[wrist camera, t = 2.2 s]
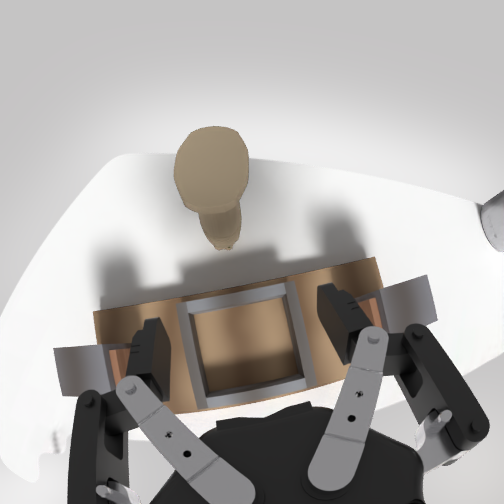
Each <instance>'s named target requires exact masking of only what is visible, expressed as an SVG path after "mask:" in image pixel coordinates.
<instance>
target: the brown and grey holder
mask: <svg viewBox="0 0 504 504" xmlns="http://www.w3.org/2000/svg"><path fill="white" fill-rule="evenodd" d="M331 282H332V283H333V284H334V285H335V287H336V288H337V290H338V291H339V290H345V291H347V292H348V293H350V294H351V295H352V296H353V298H354V299H355V300H356V302H357V303H358V304H359V306H360V308H361V309H362V310H363V311H364V313H365V314H366V316H367V317H368V318H369V320H370V321H371V323H372V324H373V325H374V326H376V327H380V328H382V329H384V330H385V331H386V332H387V333H404V331H405V329H406V327H407V326H408V325H410V324H415V323H418V324H422V325H424V326H426V325H428V324H431V323H433V322H435V321H437V320H438V319H437V314H436V310H435V305H434V301H433V297H432V293H431V289H430V285H429V281H428V277H427V275H424V276H421V277H418V278H414V279H411V280H408V281H405V282H402V283H399V284H395V285H392V286H389V287H385V288H383V284H382V280H381V277H380V273H379V269H378V266H377V262H376V259H375V257H371V258H367V259H363V260H359V261H354V262H350V263H346V264H341V265H337V266H333V267H328V268H324V269H319V270H315V271H310V272H305V273H301V274H296V275H291V276H287V277H282V278H277V279H272V280H268V281H263V282H258V283H253V284H248V285H243V286H238V287H232V288H227V289H222V290H217V291H212V292H206V293H201V294H195V295H190V296H184V297H179V298H173V299H167V300H162V301H156V302H150V303H144V304H138V305H132V306H126V307H119V308H113V309H107V310H100V311H93V316H94V324H95V332H96V339H97V345H88V346H76V347H63V348H53V349H54V355H55V361H56V367H57V372H58V378H59V382H60V387H61V391H62V396H76V397H79V396H80V395H81V394H82V393H83V392H84V391H87V390H96V391H98V392H99V393H100V395H102V394H104V393H107V392H110V391H113V390H115V389H116V386H117V384H118V383H119V381H120V380H122V379H123V378H125V376H126V370H127V364H128V359H129V354H130V348H131V343H132V338H133V336H134V335H135V333H136V332H137V330H143V325H144V320H145V319H149V318H155V317H160V319H161V321H162V323H163V325H164V327H165V330H166V332H167V334H168V336H169V339H170V343H171V369H170V401H167V402H163V405H166V406H167V407H168V408H169V409H170V410H171V412H172V413H173V414H183V413H192V412H201V411H208V410H216V409H222V408H228V407H234V406H240V405H246V404H251V403H256V402H261V401H265V400H270V399H274V398H279V397H283V396H287V395H291V394H295V393H299V392H303V391H306V390H310V389H314V388H317V387H320V386H324V385H327V384H330V383H334V382H337V381H340V380H343V379H345V377H346V374H347V371H348V368H349V366H350V365H351V364H347V365H344V366H343V364H342V362H341V360H340V358H339V356H338V354H337V352H336V350H335V349H334V347H333V345H332V343H331V341H330V339H329V337H328V335H327V333H326V331H325V330H324V328H323V326H322V324H321V322H320V320H319V318H318V314H317V286H318V285H322V284H327V283H331Z"/></svg>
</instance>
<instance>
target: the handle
mask: <svg viewBox="0 0 504 504" xmlns="http://www.w3.org/2000/svg"><path fill="white" fill-rule="evenodd" d="M248 173H249V157H248V150H247V147H246V145H245V143H244V141H243V140H242V138H241V137H240V135H239V134H238V132H237V131H235V130H233V129H230V128H227V127H219V126H213V127H205V128H200V129H198V130H195V131H193V132H191V133H190V134H189V136H188V137H187V139H186V140H185V141H184V142H183V144H182V145H181V146H180V148H179V150H178V152H177V155H176V160H175V166H174V180H175V183H176V186H177V189H178V191H179V193H180V196H181V198H182V200H183V203H184V205H185V206H186V207H187V208H189V209H190V210H192V211H194V212H197V213H199V219H200V223H201V226H202V229H203V231H204V233H205V235H206V237H207V239H208V240H209V241H210V242H211V243H212V244H213V245H214V247H215V249H217V250H221V249H227V250H231V249H232V247H233V244H234V243H235V242H236V241H237V240H238V239H239V234H240V229H241V210H240V204H239V200H240V198H241V196H242V194H243V192H244V190H245V188H246V186H247V184H248Z"/></svg>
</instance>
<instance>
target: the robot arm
mask: <svg viewBox="0 0 504 504" xmlns="http://www.w3.org/2000/svg"><path fill="white" fill-rule="evenodd" d="M481 220H482V225H483V228H484V231H485V234H486V236H487V238H488V240H489V242H490V243H491V245H492V246H493V247H494V248H495V249H496V250H498V251H500V252H504V190H503V191H502V192H500V193H499V194H497V195H496V196H495V197H493V198H492V199H490V200H489V201H488V202H486V203H485V204H484V205H483V206H482V210H481ZM317 314H318V318H319V320H320V322H321V324H322V326H323V328H324V330H325V331H326V333H327V335H328V337H329V339H330V341H331V343H332V345H333V347H334V349H335V350H336V352H337V354H338V356H339V358H340V360H341V362H342V364H343V366H344V365H347V364H351V365H350V366H349V368H348V371H347V374H346V377H345V380H344V383H343V386H342V389H341V392H340V395H339V397H338V400H337V403H336V405H335V408H334V410H333V409H330V408H325V407H312V405H311V403H310V401H308V402H304V403H301V404H297V405H293V406H289V407H286V408H284V409H282V410H280V411H278V412H276V413H274V414H272V415H270V416H267V417H264V418H247V417H238V418H232V419H225V420H219V421H216V426H217V427H216V428H213V429H211V430H209V431H207V432H206V433H204V434H203V435H202V436H201V437H200V438H198V437H197V436H196V435H195V434H193V433H192V432H191V431H190V430H189V429H188V428H187V427H186V426H185V425H184V424H183V423H182V422H181V421H180V420H179V419H178V418H177V417H176V416H175V415H174V414H173V413H172V412H171V410H170V409H169V408H168V407H167V406H166V405H163V402H167V401H170V369H171V343H170V339H169V336H168V334H167V332H166V330H165V327H164V325H163V323H162V321H161V319H160V317H155V318H149V319H145V320H144V325H143V330H137V332H136V333H135V335H134V336H133V338H132V343H131V348H130V354H129V359H128V364H127V370H126V376H125V378H123V379H122V380H120V381H119V383H118V384H117V386H116V389H115V390H113V391H110V392H107V393H104V394H102V395H100V393H99V392H98V391H96V390H87V391H84V392H83V393H82V394H81V395H80V396H79V397H78V400H77V404H76V410H75V416H74V423H73V430H72V438H71V447H70V457H69V471H68V496H67V498H68V500H67V504H141V501H140V498H139V496H138V495H137V493H136V492H134V491H133V490H131V489H129V468H128V431H129V430H132V429H135V428H138V427H140V429H141V430H142V431H143V433H144V434H145V435H146V436H147V438H148V439H149V440H150V441H151V442H152V444H153V445H154V446H155V447H156V448H157V449H158V451H159V452H160V453H161V454H162V455H163V456H164V457H165V458H166V460H167V461H168V462H169V463H170V464H171V465H172V466H173V467H174V468H175V469H176V470H175V471H174V473H173V474H172V475H171V476H170V478H169V479H168V480H167V482H166V483H165V484H164V486H163V487H162V488H161V490H160V491H159V492H158V494H157V495H156V496H155V497H154V499H153V500H152V501H151V502H150V504H426V503H425V501H424V497H423V476H424V475H425V474H426V473H428V472H430V471H432V470H434V469H436V468H437V467H439V466H441V465H443V466H448V465H451V464H452V463H454V462H455V461H457V460H458V459H459V458H461V457H462V456H463V455H464V454H466V453H467V452H468V451H469V450H471V449H472V448H473V447H475V446H476V445H477V444H478V443H479V442H481V441H482V440H483V439H484V438H485V437H486V436H487V434H488V432H489V428H490V424H489V420H488V418H487V417H486V414H485V413H484V411H483V409H482V408H481V406H480V404H479V403H478V401H477V399H476V398H475V396H474V395H473V393H472V391H471V390H470V388H469V387H468V385H467V383H466V382H465V380H464V379H463V377H462V376H461V374H460V373H459V371H458V370H457V368H456V367H455V365H454V364H453V362H452V361H451V359H450V358H449V356H448V355H447V354H446V352H445V351H444V349H443V348H442V347H441V345H440V344H439V342H438V341H437V340H436V338H435V337H434V336H433V334H432V333H431V331H430V330H429V329H428V328H427V327H426V326H424V325H422V324H418V323H415V324H410V325H408V326H407V327H406V329H405V331H404V333H387V332H386V331H385V330H384V329H382V328H380V327H376V326H374V325H373V324H372V323H371V321H370V320H369V318H368V317H367V316H366V314H365V313H364V311H363V310H362V309H361V308H360V306H359V304H358V303H357V302H356V300H355V299H354V298H353V296H352V295H351V294H350V293H348V292H347V291H345V290H339V291H338V290H337V288H336V287H335V285H334V284H333V283H332V282H331V283H327V284H322V285H318V286H317ZM390 375H394V377H395V379H396V381H397V382H398V384H399V386H400V388H401V390H402V392H403V394H404V396H405V398H406V400H407V402H408V403H409V406H410V407H411V409H412V412H413V413H414V415H415V418H416V420H417V422H418V424H419V427H418V428H417V430H416V432H415V440H416V445H417V446H416V451H415V450H414V449H413V448H411V447H410V446H408V445H405V444H403V443H401V442H399V441H396V440H394V439H392V438H390V437H387V436H386V435H383V434H381V433H379V432H377V431H375V430H373V429H371V428H370V424H371V421H372V417H373V414H374V410H375V406H376V402H377V398H378V394H379V390H380V386H381V382H382V377H383V376H390Z"/></svg>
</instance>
